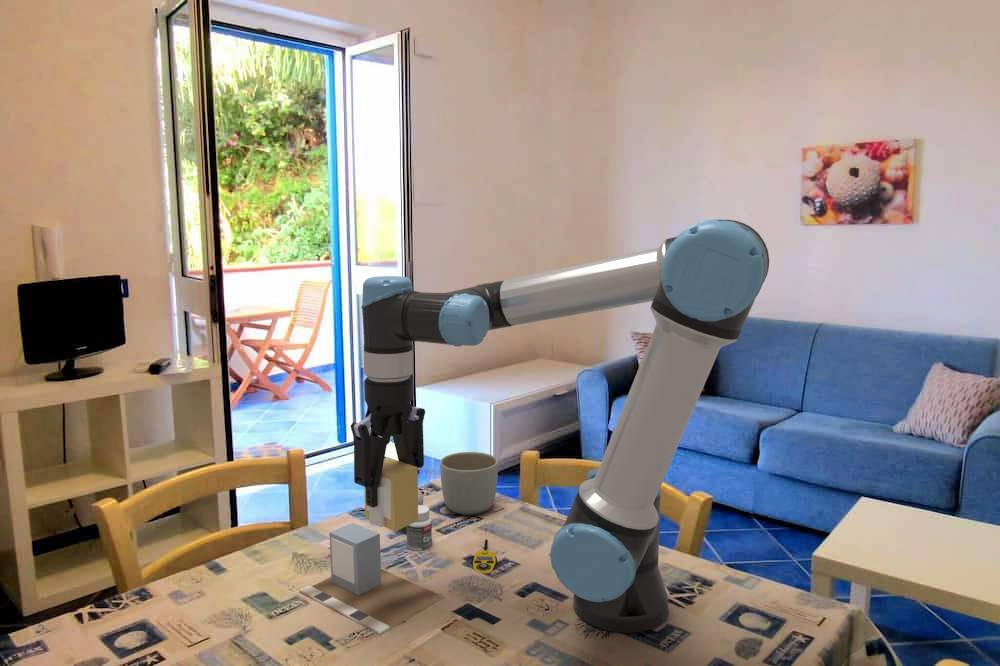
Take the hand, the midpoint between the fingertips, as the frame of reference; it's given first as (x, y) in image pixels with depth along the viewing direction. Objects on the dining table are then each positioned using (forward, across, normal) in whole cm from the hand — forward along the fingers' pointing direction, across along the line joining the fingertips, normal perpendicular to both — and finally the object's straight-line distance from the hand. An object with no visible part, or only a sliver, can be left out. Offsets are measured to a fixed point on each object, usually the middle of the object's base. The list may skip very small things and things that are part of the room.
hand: (391, 518), depth 118 cm
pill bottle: (+15, -17, -11) cm, 25 cm away
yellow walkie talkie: (+16, -22, +1) cm, 27 cm away
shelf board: (+15, +1, -4) cm, 16 cm away
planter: (+15, -38, -17) cm, 44 cm away
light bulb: (+15, -21, -18) cm, 31 cm away
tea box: (0, 0, 0) cm, 0 cm away
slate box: (+14, 0, -9) cm, 17 cm away
